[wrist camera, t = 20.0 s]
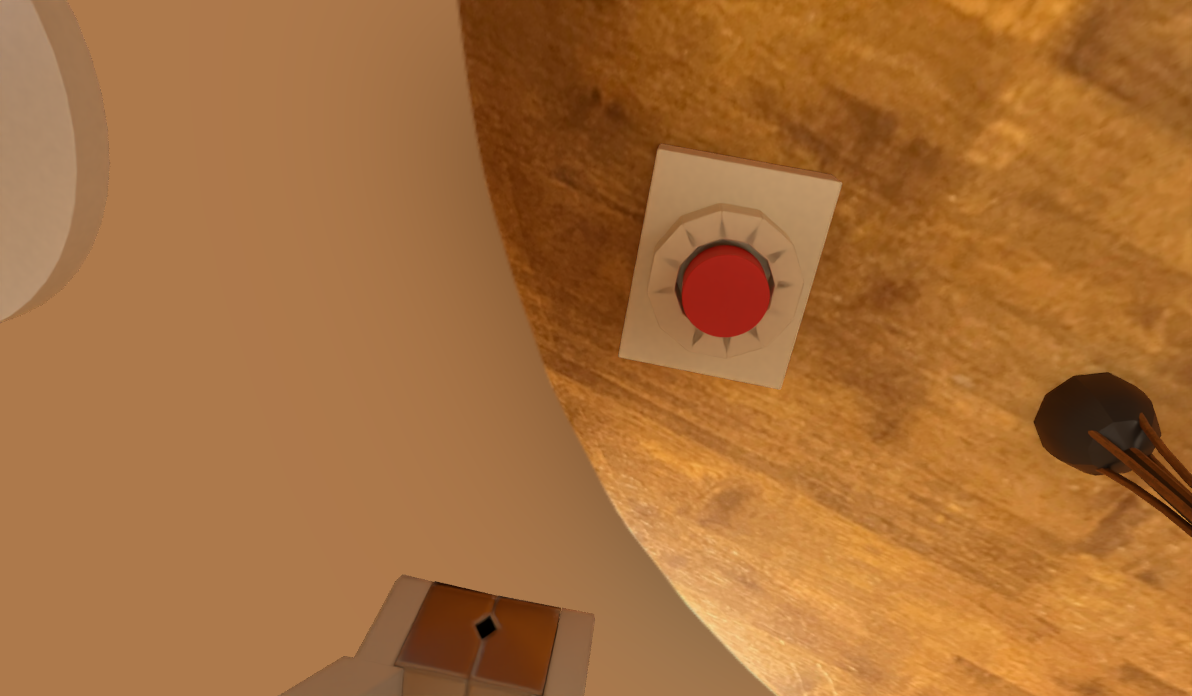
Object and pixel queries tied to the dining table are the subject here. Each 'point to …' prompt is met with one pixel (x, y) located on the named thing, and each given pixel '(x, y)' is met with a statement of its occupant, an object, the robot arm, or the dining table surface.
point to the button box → (726, 217)
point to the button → (725, 291)
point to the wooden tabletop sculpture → (1113, 439)
